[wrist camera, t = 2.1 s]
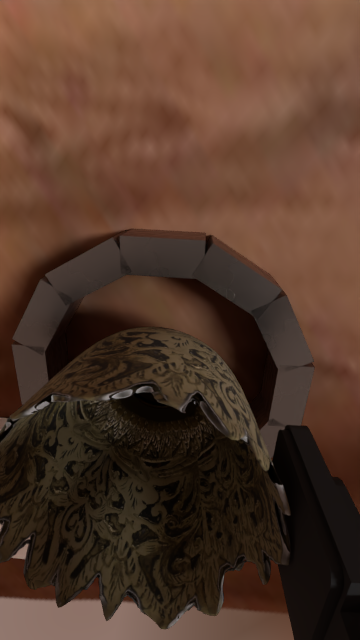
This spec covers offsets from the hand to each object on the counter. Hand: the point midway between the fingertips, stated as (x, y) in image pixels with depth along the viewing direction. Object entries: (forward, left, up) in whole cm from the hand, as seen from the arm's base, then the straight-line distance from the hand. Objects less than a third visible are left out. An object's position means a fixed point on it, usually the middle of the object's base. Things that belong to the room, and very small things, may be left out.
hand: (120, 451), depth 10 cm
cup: (-1, 0, -6) cm, 6 cm away
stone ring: (-1, 0, -6) cm, 6 cm away
